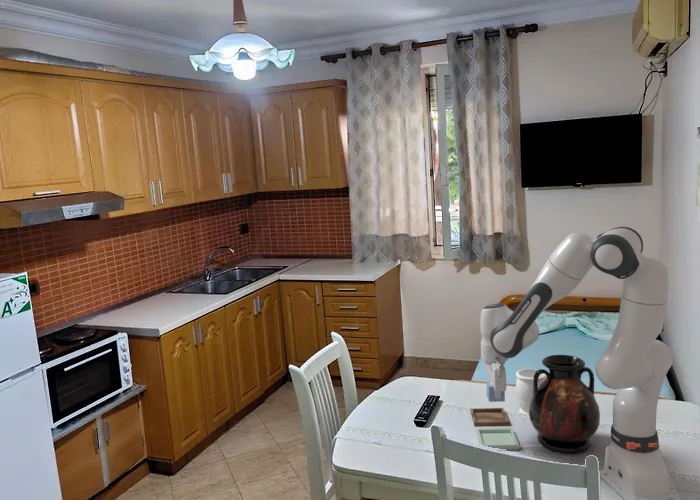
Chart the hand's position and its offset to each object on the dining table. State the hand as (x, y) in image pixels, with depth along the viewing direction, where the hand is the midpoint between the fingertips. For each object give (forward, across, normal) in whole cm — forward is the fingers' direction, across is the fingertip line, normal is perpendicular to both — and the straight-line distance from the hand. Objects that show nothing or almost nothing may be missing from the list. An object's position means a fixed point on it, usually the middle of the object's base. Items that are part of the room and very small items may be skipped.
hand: (495, 393), depth 190 cm
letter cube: (+2, 0, 0) cm, 2 cm away
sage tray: (+17, 0, 0) cm, 17 cm away
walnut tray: (+17, +16, 0) cm, 23 cm away
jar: (+17, +22, -16) cm, 32 cm away
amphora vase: (+17, -2, -21) cm, 27 cm away
